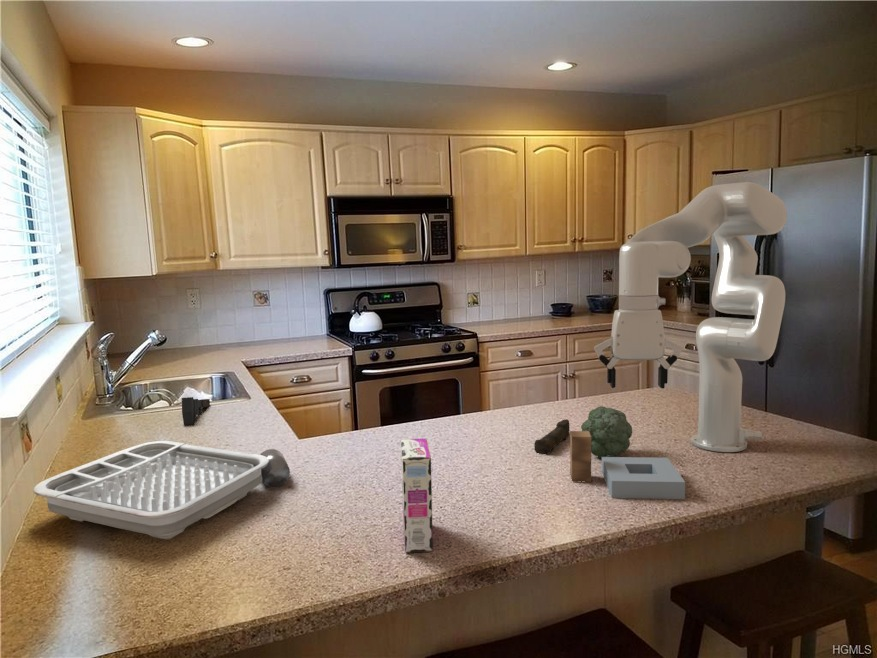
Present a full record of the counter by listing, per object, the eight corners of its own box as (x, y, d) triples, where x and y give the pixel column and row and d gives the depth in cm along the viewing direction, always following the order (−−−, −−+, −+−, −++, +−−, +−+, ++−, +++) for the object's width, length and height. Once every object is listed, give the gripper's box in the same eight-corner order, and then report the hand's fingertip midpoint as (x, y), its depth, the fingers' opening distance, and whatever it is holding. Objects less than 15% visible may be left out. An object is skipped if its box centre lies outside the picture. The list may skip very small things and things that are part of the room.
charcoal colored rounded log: (549, 456, 147) (549, 438, 146) (533, 454, 149) (533, 435, 149) (578, 436, 162) (578, 419, 162) (564, 433, 165) (564, 417, 164)
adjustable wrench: (211, 420, 206) (191, 425, 181) (203, 420, 206) (182, 426, 181) (210, 395, 207) (191, 397, 182) (202, 395, 206) (181, 397, 182)
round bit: (289, 466, 141) (294, 478, 134) (264, 480, 139) (268, 493, 132) (277, 444, 140) (282, 454, 132) (251, 458, 138) (255, 469, 130)
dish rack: (166, 559, 103) (161, 514, 102) (23, 526, 117) (18, 487, 116) (283, 490, 131) (280, 454, 130) (157, 470, 146) (153, 438, 145)
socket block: (667, 473, 134) (667, 457, 133) (684, 499, 120) (685, 482, 119) (601, 472, 135) (601, 456, 135) (611, 497, 122) (611, 480, 121)
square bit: (588, 475, 134) (588, 431, 132) (591, 482, 130) (591, 436, 129) (570, 475, 134) (570, 431, 133) (571, 482, 130) (571, 436, 129)
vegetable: (615, 431, 157) (650, 419, 144) (597, 474, 152) (631, 466, 138) (576, 405, 157) (608, 391, 143) (557, 448, 151) (588, 437, 138)
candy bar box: (435, 552, 102) (431, 457, 100) (405, 554, 102) (401, 459, 100) (430, 522, 113) (427, 436, 111) (403, 524, 113) (399, 438, 111)
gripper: (678, 301, 126) (676, 383, 128) (592, 302, 129) (592, 382, 131) (687, 305, 119) (685, 391, 121) (596, 306, 121) (595, 390, 124)
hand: (636, 386), depth 126 cm, fingers open, 9 cm apart
